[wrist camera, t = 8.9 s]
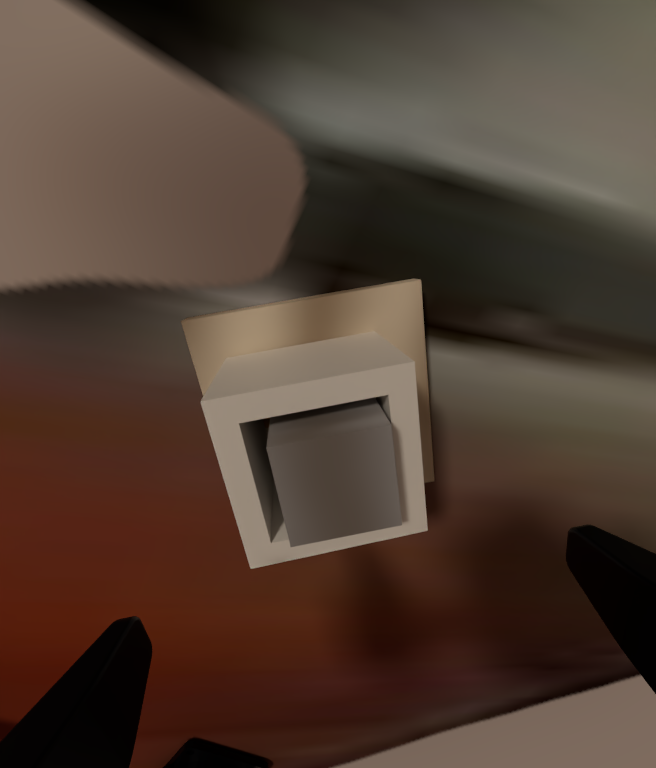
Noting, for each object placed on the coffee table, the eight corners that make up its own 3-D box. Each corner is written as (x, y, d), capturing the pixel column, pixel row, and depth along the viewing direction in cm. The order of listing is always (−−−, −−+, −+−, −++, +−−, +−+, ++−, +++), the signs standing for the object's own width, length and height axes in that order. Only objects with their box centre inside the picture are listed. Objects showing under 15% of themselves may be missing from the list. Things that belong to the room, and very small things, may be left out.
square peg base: (413, 278, 16) (500, 292, 9) (427, 470, 19) (498, 579, 13) (187, 317, 15) (110, 359, 9) (242, 506, 19) (216, 638, 12)
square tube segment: (374, 331, 15) (414, 361, 11) (389, 458, 18) (427, 530, 13) (202, 362, 15) (165, 408, 10) (238, 489, 17) (222, 575, 12)
